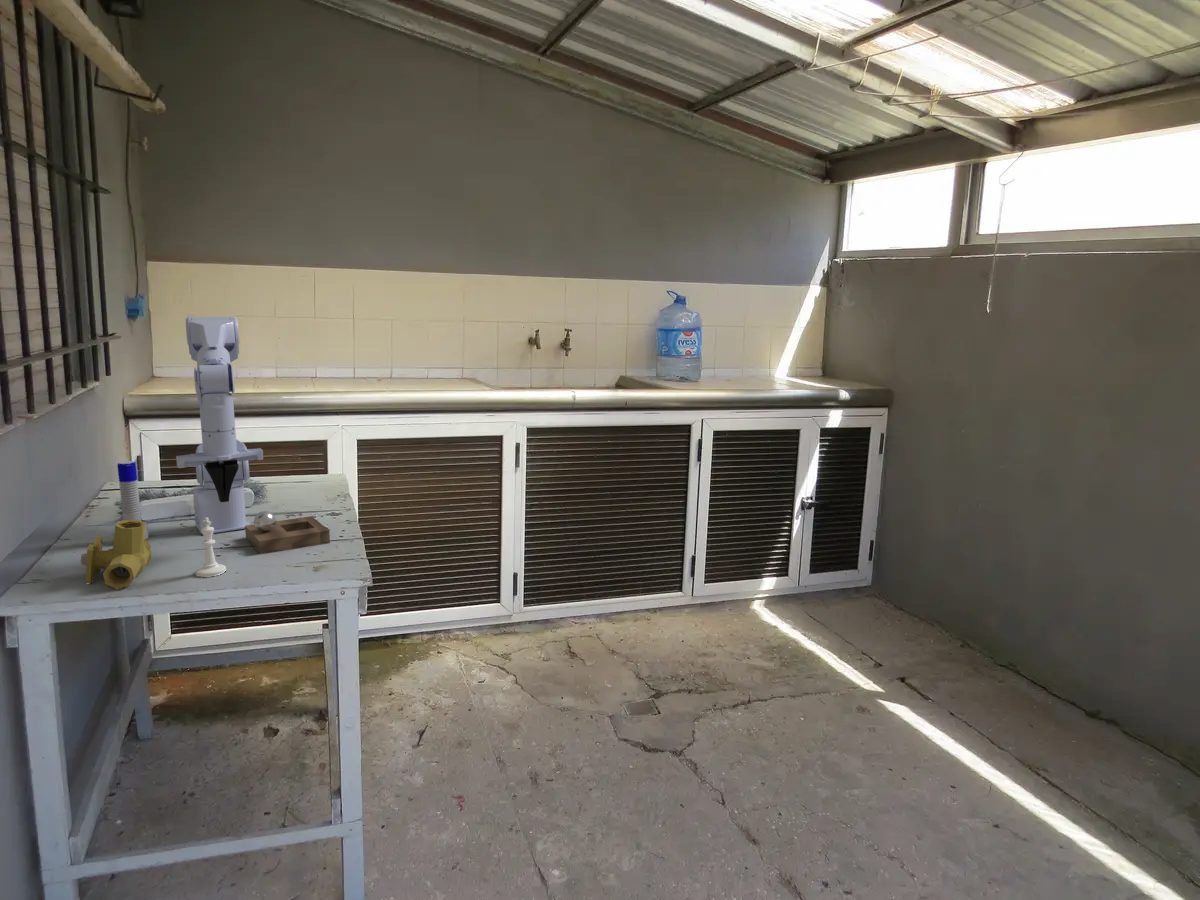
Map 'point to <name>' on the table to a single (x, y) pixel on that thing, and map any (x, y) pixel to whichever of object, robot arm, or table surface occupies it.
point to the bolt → (130, 492)
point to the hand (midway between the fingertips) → (224, 500)
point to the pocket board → (288, 535)
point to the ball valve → (119, 555)
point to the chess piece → (209, 554)
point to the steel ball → (264, 521)
